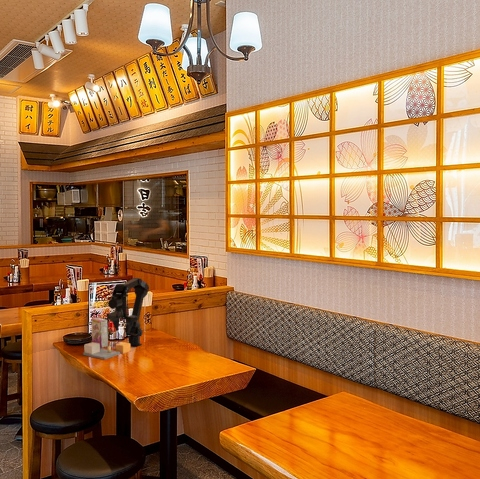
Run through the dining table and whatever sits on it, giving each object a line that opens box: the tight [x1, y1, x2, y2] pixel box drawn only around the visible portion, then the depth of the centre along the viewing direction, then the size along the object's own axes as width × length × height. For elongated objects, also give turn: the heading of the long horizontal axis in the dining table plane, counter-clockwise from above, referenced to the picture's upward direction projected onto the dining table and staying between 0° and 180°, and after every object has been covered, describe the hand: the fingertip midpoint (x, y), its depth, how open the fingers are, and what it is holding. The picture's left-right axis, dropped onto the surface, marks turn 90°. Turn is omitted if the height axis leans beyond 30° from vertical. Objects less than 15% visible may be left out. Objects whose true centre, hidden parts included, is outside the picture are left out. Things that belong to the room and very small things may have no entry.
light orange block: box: [115, 341, 132, 355], centre depth 292 cm, size 6×6×5 cm
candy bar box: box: [90, 317, 109, 349], centre depth 304 cm, size 11×5×16 cm, turn 47°
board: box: [82, 341, 121, 360], centre depth 286 cm, size 12×17×6 cm
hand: (122, 331), depth 291 cm, fingers open, 9 cm apart
